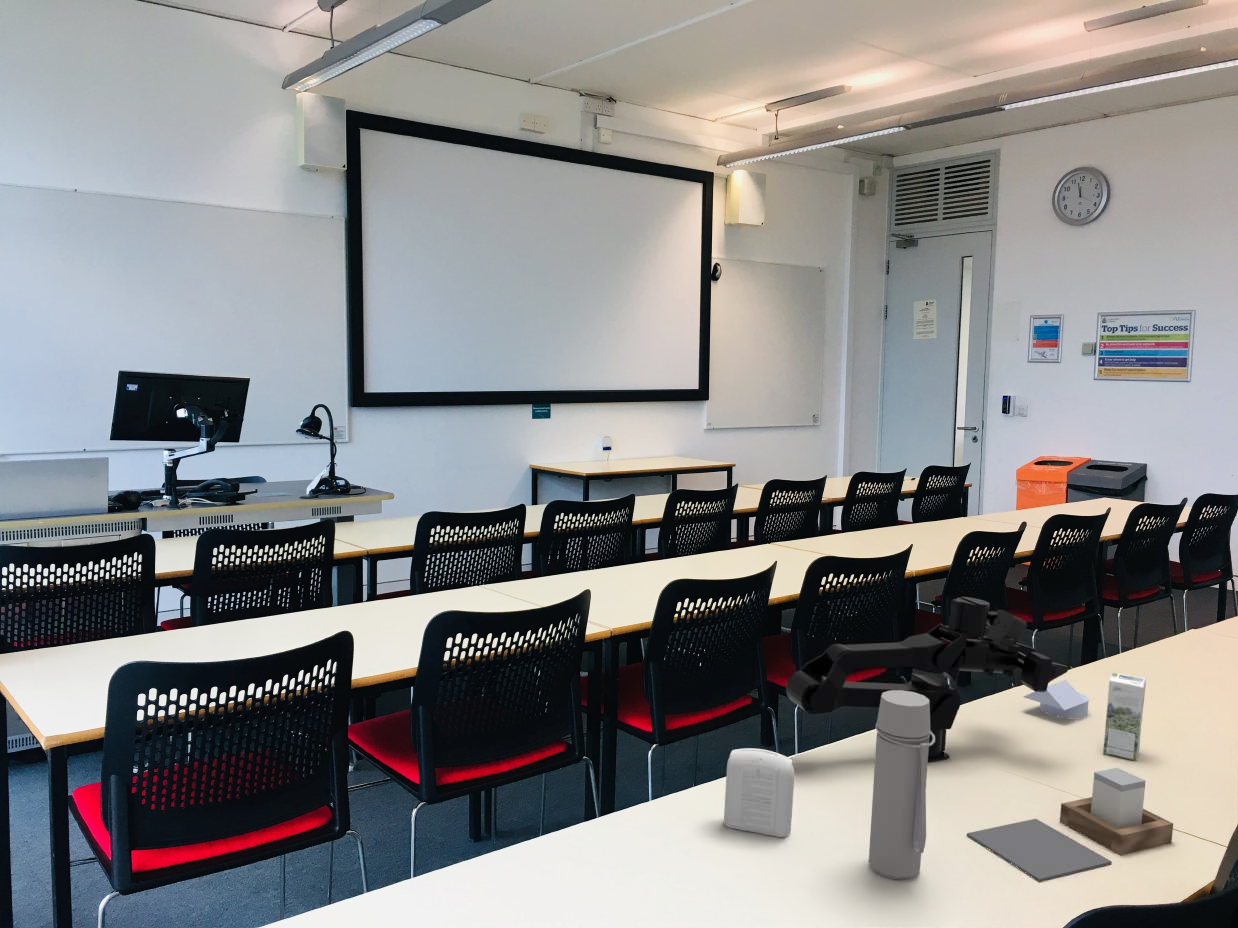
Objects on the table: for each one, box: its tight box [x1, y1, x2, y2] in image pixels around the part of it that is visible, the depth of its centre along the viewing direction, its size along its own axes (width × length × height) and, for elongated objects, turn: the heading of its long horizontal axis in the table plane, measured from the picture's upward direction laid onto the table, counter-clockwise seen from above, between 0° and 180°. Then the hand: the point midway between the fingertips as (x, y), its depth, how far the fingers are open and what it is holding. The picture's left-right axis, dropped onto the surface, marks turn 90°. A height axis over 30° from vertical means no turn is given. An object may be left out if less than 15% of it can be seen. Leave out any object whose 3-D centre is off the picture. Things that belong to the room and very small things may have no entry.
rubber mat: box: [966, 818, 1112, 882], centre depth 146 cm, size 14×14×1 cm
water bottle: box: [868, 690, 935, 880], centre depth 137 cm, size 9×8×25 cm
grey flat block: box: [723, 747, 795, 838], centre depth 149 cm, size 10×4×12 cm, turn 72°
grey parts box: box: [1091, 767, 1146, 829], centre depth 152 cm, size 5×5×9 cm
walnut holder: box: [1059, 796, 1174, 855], centre depth 152 cm, size 11×11×3 cm
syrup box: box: [1102, 672, 1147, 762], centre depth 183 cm, size 6×6×14 cm
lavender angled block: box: [1022, 679, 1090, 719], centre depth 204 cm, size 9×7×13 cm
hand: (1050, 660), depth 185 cm, fingers open, 9 cm apart
